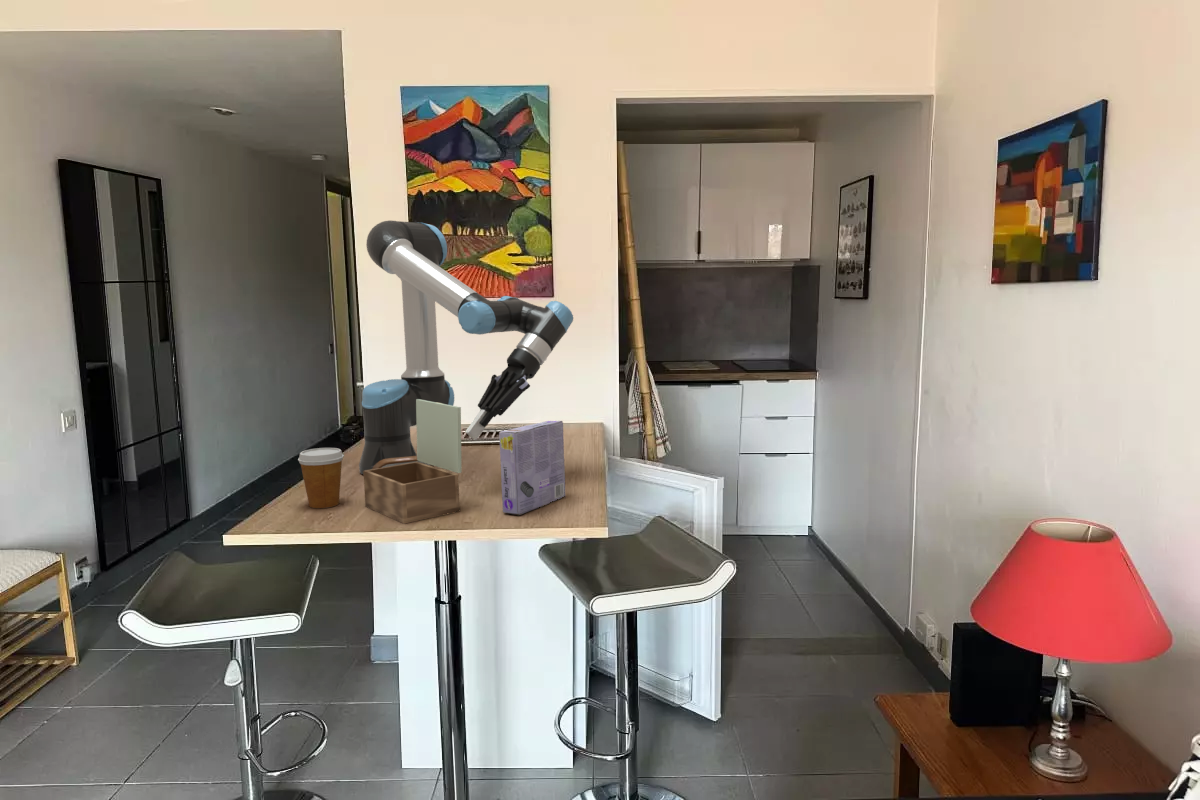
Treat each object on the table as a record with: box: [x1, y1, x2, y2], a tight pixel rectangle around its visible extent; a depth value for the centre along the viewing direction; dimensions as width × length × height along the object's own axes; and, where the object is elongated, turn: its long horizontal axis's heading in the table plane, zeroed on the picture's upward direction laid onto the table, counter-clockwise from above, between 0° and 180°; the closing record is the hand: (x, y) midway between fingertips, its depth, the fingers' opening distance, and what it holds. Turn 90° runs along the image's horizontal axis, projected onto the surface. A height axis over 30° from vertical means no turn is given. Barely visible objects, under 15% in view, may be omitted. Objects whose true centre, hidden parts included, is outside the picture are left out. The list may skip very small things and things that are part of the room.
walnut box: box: [363, 462, 461, 525], centre depth 170 cm, size 18×13×8 cm
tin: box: [372, 456, 435, 469], centre depth 184 cm, size 15×3×8 cm, turn 117°
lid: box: [416, 399, 462, 474], centre depth 173 cm, size 18×14×1 cm
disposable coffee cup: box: [297, 447, 345, 509], centre depth 175 cm, size 10×10×12 cm
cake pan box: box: [498, 420, 566, 516], centre depth 172 cm, size 19×5×18 cm, turn 149°
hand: (470, 435), depth 179 cm, fingers closed
